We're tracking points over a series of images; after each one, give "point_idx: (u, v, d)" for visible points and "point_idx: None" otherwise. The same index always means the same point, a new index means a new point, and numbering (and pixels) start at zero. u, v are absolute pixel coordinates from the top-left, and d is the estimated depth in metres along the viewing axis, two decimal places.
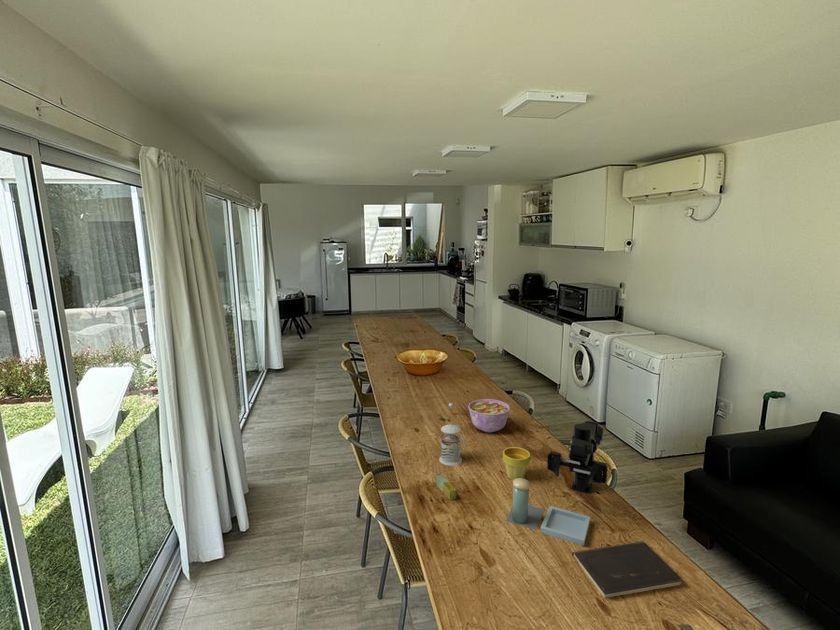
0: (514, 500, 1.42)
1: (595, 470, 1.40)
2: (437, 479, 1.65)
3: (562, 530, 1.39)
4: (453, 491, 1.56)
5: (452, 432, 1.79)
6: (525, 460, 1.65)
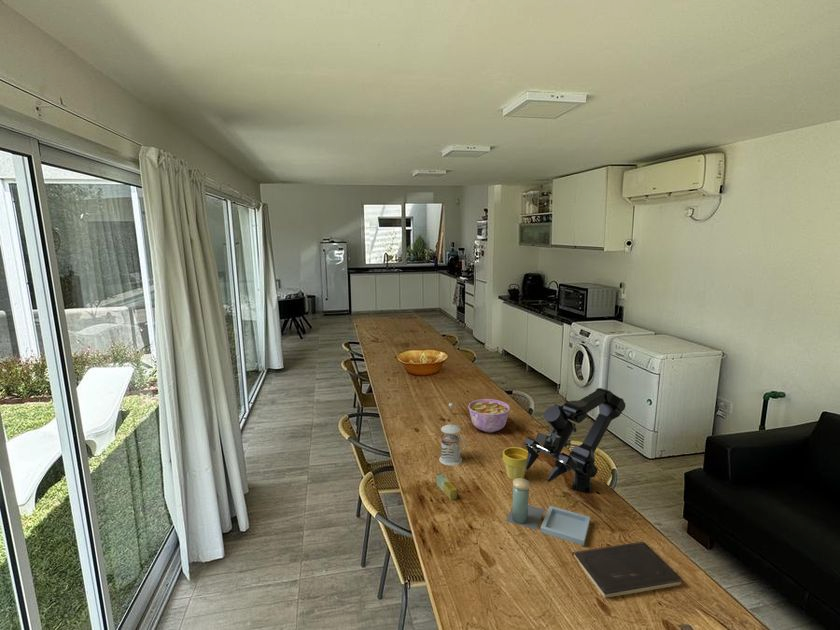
0: (514, 500, 1.42)
1: (558, 466, 1.42)
2: (438, 479, 1.65)
3: (562, 530, 1.39)
4: (454, 491, 1.56)
5: (452, 432, 1.79)
6: (525, 460, 1.65)
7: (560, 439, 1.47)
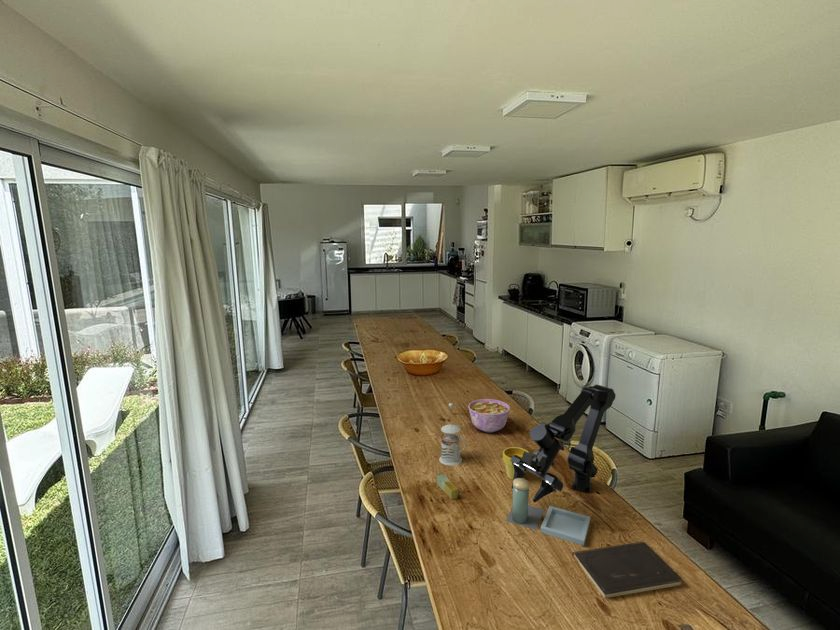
0: (514, 500, 1.42)
1: (543, 486, 1.39)
2: (438, 479, 1.65)
3: (562, 530, 1.39)
4: (455, 490, 1.56)
5: (452, 432, 1.79)
6: None
7: (547, 458, 1.45)
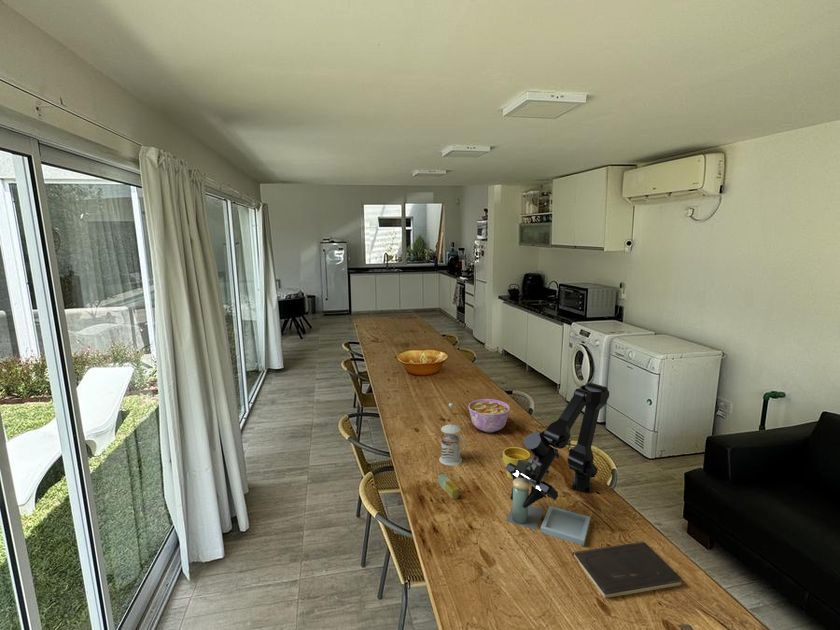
0: (514, 500, 1.42)
1: (533, 492, 1.40)
2: (439, 478, 1.65)
3: (562, 530, 1.39)
4: (456, 490, 1.57)
5: (452, 432, 1.79)
6: (525, 460, 1.65)
7: (541, 466, 1.43)
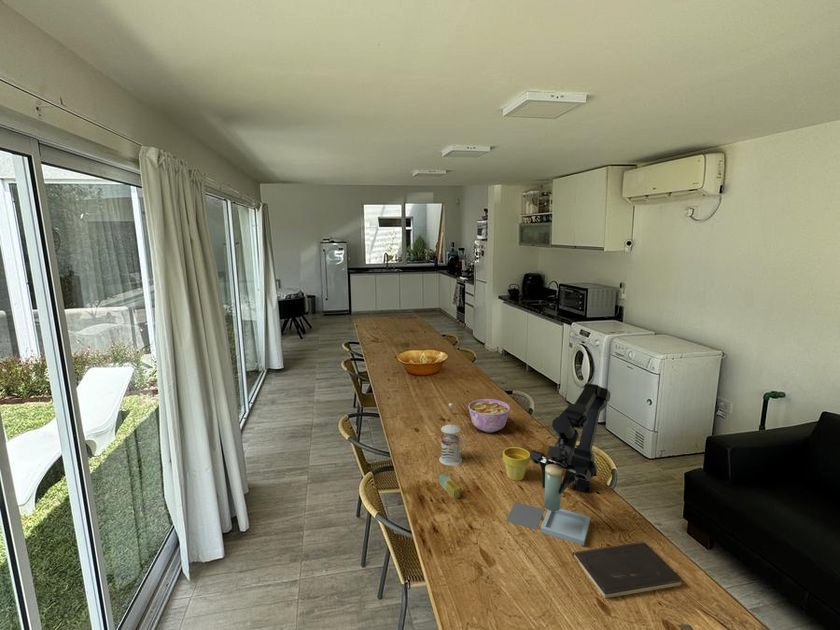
0: (548, 488, 1.37)
1: (568, 476, 1.37)
2: (440, 478, 1.65)
3: (562, 530, 1.39)
4: (457, 490, 1.57)
5: (452, 432, 1.79)
6: (525, 460, 1.65)
7: None
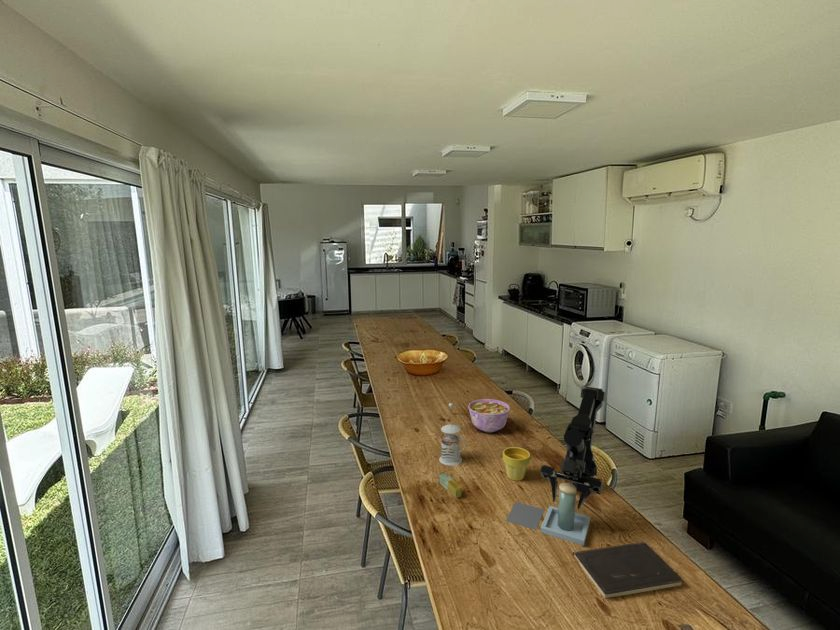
0: (563, 507, 1.38)
1: (585, 491, 1.37)
2: (441, 478, 1.65)
3: (562, 530, 1.39)
4: (459, 489, 1.57)
5: (452, 432, 1.79)
6: (525, 460, 1.65)
7: None
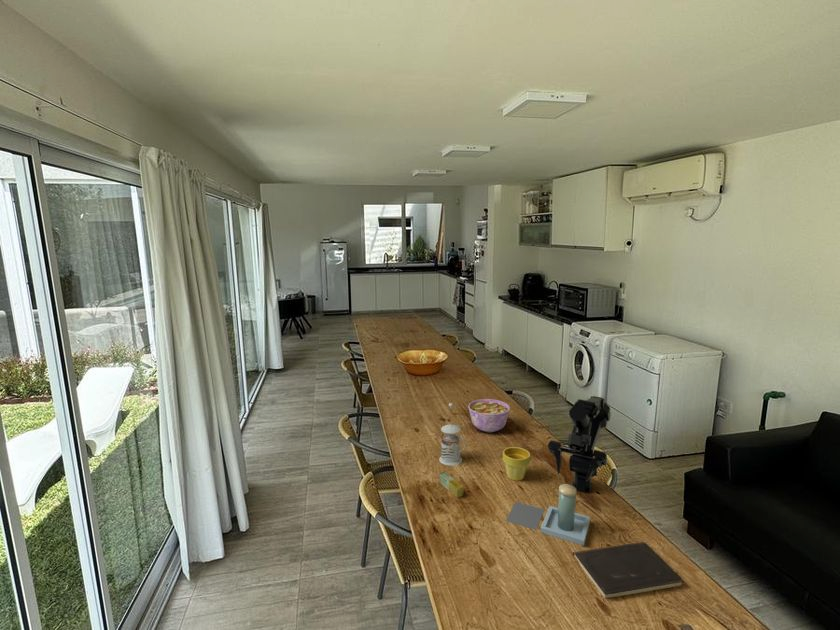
0: (563, 508, 1.37)
1: (594, 464, 1.44)
2: (442, 478, 1.65)
3: (562, 530, 1.39)
4: (460, 488, 1.58)
5: (452, 432, 1.79)
6: (525, 460, 1.65)
7: None
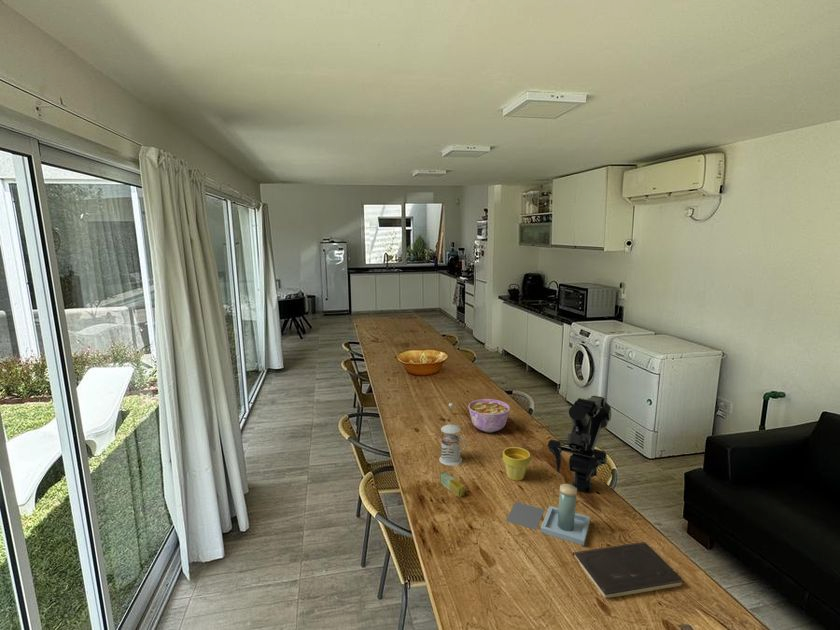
0: (564, 508, 1.38)
1: (594, 463, 1.44)
2: (442, 478, 1.66)
3: (562, 530, 1.39)
4: (462, 488, 1.58)
5: (452, 432, 1.79)
6: (525, 460, 1.65)
7: None
